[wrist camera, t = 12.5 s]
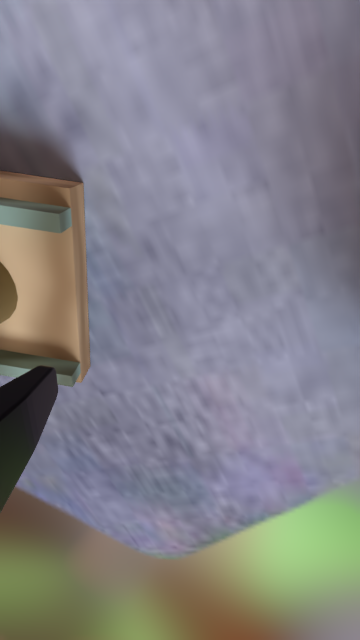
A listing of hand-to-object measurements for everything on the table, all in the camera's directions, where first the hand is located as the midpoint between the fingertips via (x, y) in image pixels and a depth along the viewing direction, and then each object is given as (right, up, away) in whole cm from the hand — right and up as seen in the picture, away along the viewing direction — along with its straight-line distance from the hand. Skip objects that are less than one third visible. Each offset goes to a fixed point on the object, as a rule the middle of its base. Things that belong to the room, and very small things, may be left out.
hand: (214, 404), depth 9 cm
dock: (-14, +6, +14) cm, 21 cm away
